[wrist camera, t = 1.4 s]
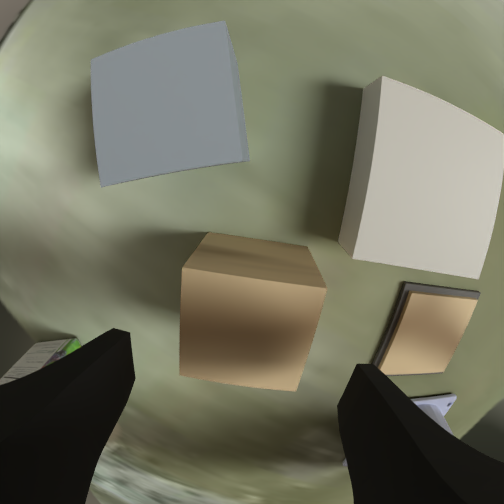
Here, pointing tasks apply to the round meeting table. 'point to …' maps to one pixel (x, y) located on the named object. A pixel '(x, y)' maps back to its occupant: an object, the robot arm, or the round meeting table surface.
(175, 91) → the slate cube
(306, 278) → the maple cube
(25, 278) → the round meeting table surface
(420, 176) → the base block
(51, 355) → the syrup box
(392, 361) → the tile
